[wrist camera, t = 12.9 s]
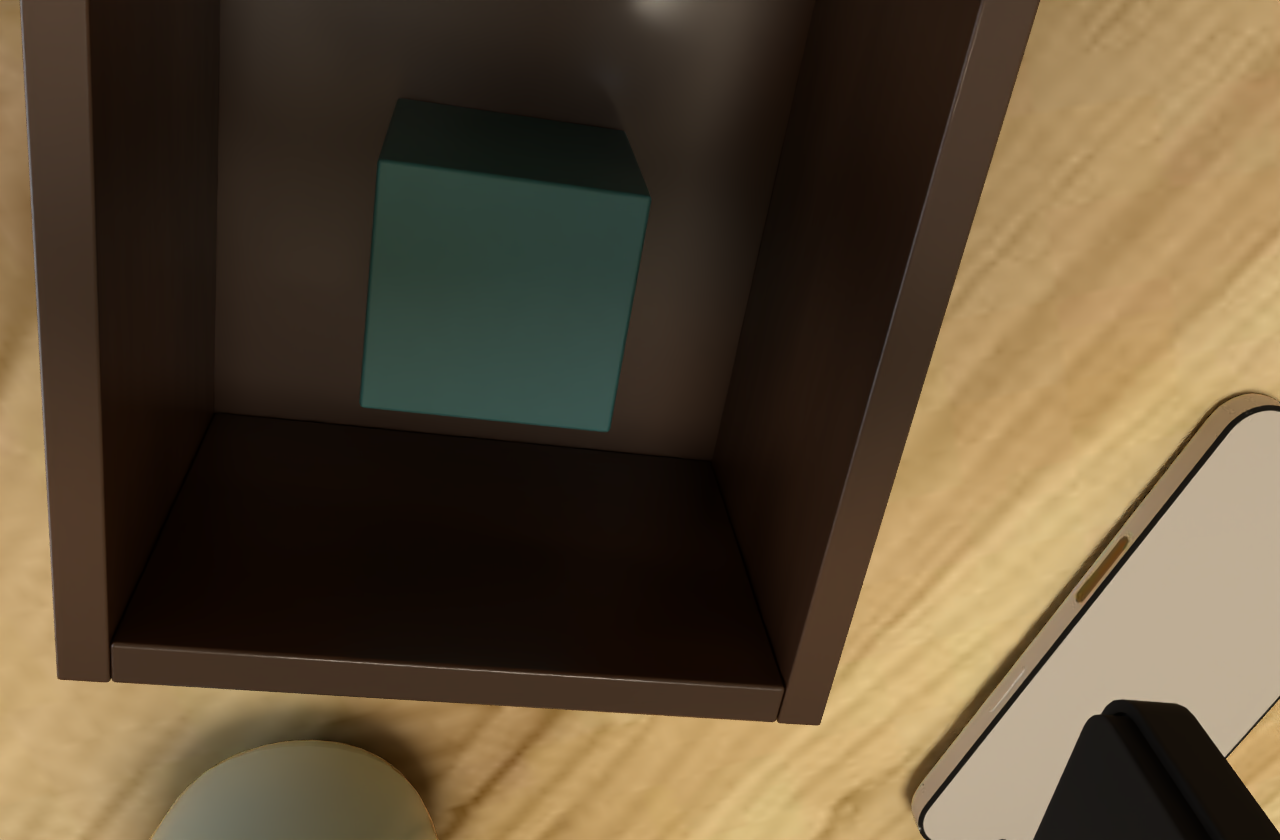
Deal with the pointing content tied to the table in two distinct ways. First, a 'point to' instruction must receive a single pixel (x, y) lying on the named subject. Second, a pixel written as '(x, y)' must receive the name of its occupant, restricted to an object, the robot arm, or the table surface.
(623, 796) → the table surface
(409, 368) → the block
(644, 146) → the chest
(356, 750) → the cup
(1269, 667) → the smartphone
